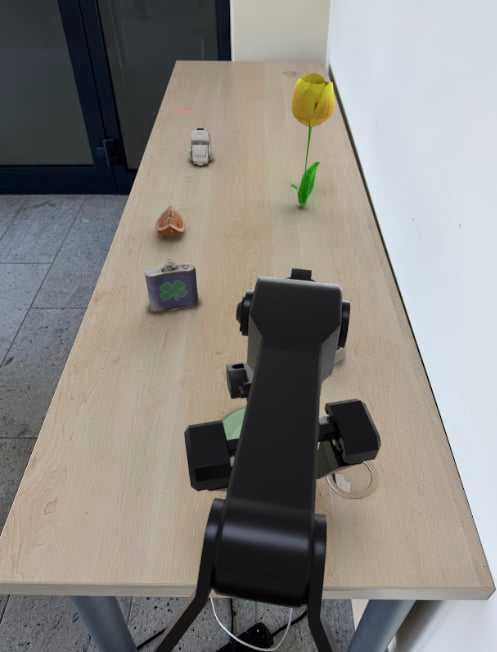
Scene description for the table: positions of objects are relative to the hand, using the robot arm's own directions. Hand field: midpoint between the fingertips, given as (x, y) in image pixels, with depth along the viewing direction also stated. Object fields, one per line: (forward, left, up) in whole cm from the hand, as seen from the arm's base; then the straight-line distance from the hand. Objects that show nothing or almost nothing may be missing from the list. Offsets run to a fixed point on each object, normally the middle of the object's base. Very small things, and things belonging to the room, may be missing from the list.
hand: (276, 482), depth 54 cm
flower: (+80, -5, -13) cm, 81 cm away
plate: (+12, +2, -13) cm, 18 cm away
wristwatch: (+33, -8, -13) cm, 36 cm away
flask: (+42, +20, -13) cm, 48 cm away
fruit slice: (+66, +25, -13) cm, 72 cm away
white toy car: (+102, +23, -13) cm, 105 cm away
